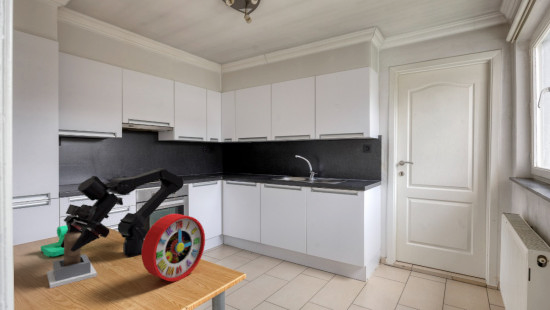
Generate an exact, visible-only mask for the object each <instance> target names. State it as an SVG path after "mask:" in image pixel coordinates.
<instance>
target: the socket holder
mask: <svg viewBox="0 0 550 310" xmlns="http://www.w3.org/2000/svg"><path fill="white" fill-rule="evenodd" d="M46 276H47V281H48V285H49V288H50V289H51V288H56V287H61V286H64V285H68V284H72V283H76V282H79V281H83V280H88V279H92V278H94V277H98V273H97V270H96V269H95V268H94V266H93V264H92V262H91V261H90V259H89V257H88V256H87V254H86V253H85V254H81V256H80V263H77V264H73V265H68V266H64V258H62V259H57V260H56V259H55V260H52V270H48V271H46Z"/></svg>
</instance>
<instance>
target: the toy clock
mask: <svg viewBox="0 0 550 310" xmlns="http://www.w3.org/2000/svg"><path fill="white" fill-rule="evenodd" d="M147 232H148V233H147V234H146V236H145V238H144V242H143V246H142V254H141V261H142V264H143V267H144V269H145V270H146V271H147V272H148V273H149V274H150V275H152V276H155V277H157V278H159V279H162V280H164V281H168V282H177V281H181V280H182V279H185V278H186V277H188V276H189V275H190V274H191V273H193V272H194V270H195V268H197V266H198V265H199V263H200V261H201V259H202V256H203V254H204V250H205V245H206V234H205V230H204V227H203V225H202V224H201V222H200V221H199V220H198V219H196V218H195V217H193V216H189V215H184V214H180V213H169V214H166V215H165V216H162V217H160V218H159V219H158V220H156V221H155V222H154V223H153V224H152V225H151V226H150V228H149V230H148V231H147Z"/></svg>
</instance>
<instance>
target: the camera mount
mask: <svg viewBox="0 0 550 310" xmlns="http://www.w3.org/2000/svg"><path fill="white" fill-rule="evenodd" d="M67 230H68V228H67V225H66V224H65V225H60V226H58V227H57V228H56V235H57V237H58V241H55V242H53V243H49V244H48V243H47V244H44V245H41V246H40V251H41V252H42V253H43V255H44V256H46V257H47V256H48V257H47V258H50V256H51V257H58V256H60V255H64V248H62V247H61V244H62V241H63V239H64V235H65V234H66V233H67Z"/></svg>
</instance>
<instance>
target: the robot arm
mask: <svg viewBox="0 0 550 310" xmlns="http://www.w3.org/2000/svg"><path fill="white" fill-rule="evenodd" d="M155 181H159V182H161V184H160V188H159V189H158V190H157V191H156V192H155V193H154V194H153V195H152V196H151V197H149V199H148V200H147V201H146V202H145V203H144V204H143V205H142V206H141V207H140V208H139V209H138V210H137V211H136V212H134V213H132V212H127V213H126V214H125V215H124V217H122V218H120V220H119V221H120V222H119V223H118V224H117V232H118V233H119V234H120V235H121V238H124V242H123V243H122V244H123V245H122V247H123V248H122V253H123V254H124V255H125V256H126V257H127V258H131V257H135V256H140V255H142V246H143V242H144V239H145V236H146V234H147V233H148V231H147V230H146V229H144V227H145V226H146V221H147V219H148V218H149V217H150V216H151V215H153V214H154V212H155V211H156V210H157V209H158V208H159V207H160V206H161V204H163V203H164V201H166V199H168V197H169V196H171V195H172V194H175V193H177V192H179V191H180V190H181V189H182V188H183V187H184V179H183V177H181V176H178V175H176V174H174V173H172V172H170V171H169V170H167V169H166V168H160V167H159V168H155V169H152V170H149V171H147V172H143V173H140V174H137V175H134V176H130V177H129V176H127V177H118V178H117V177H116V178H113V179H111V180H110V181H109V182H106V183H104V181H102V180H101V179H100V177H98V176H97V175H92V176H91V177H89V178H87V179H85V180H84V181H82V182H81V183H80V184H79V185H78V187H77V190H78V191H79V192H80V193H81V194H82V195H84V196H85V197H86V198H87V199H89V200H90V201H92V202H93V201H95V202H94V203H93V204H92V205H88V204H84V203H83V204H82V205H80V206H79V205H75V204H71V203H70V204H69V205H68V208H67V209H66V212H65V214H66V215H67V216H66V217H65V218H64V219H63V221H64V223H65V225H67V228H68V230H67V233H70V232H81V235H80V236H79V238H78V239H77V241H76V242H75V244H74V245H73V246H72V248H71V251H73V252H74V251H76V250H77V249H79V248H83V247H85V246H86V245H88V244H90V243H92V242H93V241H96V240H97V239H98V240H99V239H100V238H105V239H106V238H107V237H108V236H109V235H110V228H108V227H107V226H105V224H103V223H102V222H103V221H104V219H108V218H109V217H110V216H109V213H111V211H112V210H113V208H114V207H115V206H117V205H118V206H123V205H124V200H123V197H119V195H121V196H126V195H129V194H131V193H133V192H134V191H135V190H136V189H137V188H139V187H141V186H144V185H147V184H150V183H152V182H155ZM117 195H118V196H117ZM61 247H62V248H64V239H63V241H62V244H61Z"/></svg>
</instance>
